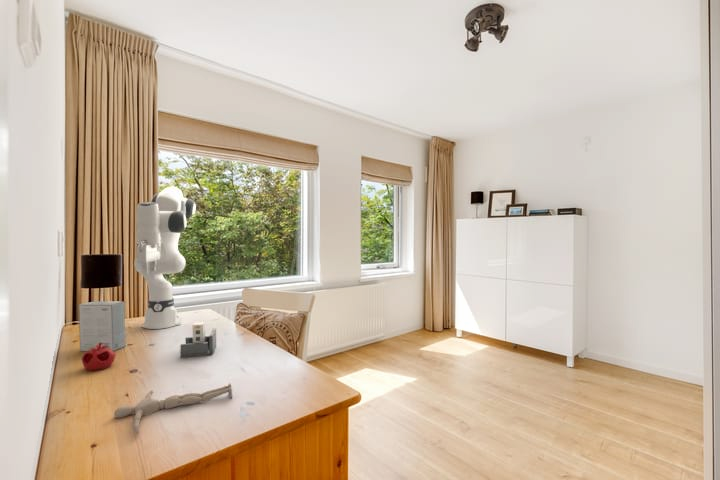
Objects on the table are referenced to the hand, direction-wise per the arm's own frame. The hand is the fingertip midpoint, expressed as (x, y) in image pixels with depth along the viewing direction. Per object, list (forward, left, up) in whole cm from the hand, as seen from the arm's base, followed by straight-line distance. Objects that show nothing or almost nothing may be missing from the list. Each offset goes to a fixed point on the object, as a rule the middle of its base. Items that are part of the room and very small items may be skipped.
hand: (149, 272), depth 150 cm
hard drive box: (-6, -20, -33) cm, 39 cm away
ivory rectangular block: (+10, +21, -32) cm, 40 cm away
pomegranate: (+18, -12, -33) cm, 40 cm away
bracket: (+10, +21, -33) cm, 40 cm away
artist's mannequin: (+58, +23, -34) cm, 71 cm away
